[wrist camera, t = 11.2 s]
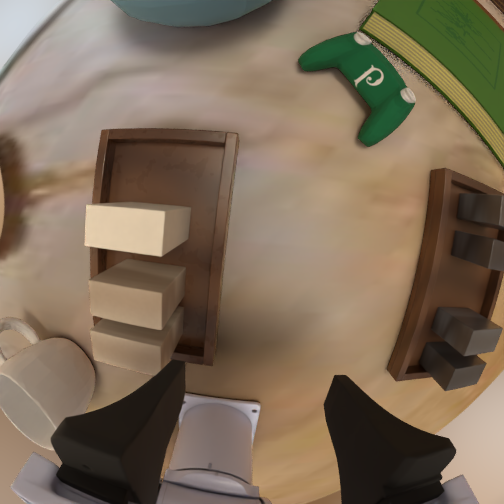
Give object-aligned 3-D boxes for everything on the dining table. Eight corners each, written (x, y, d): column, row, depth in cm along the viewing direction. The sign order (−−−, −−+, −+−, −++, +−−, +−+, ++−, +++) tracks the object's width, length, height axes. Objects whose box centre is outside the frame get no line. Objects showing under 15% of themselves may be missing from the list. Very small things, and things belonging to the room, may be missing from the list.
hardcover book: (528, 88, 17) (544, 84, 13) (513, 183, 20) (535, 183, 16) (400, -36, 15) (411, -50, 11) (351, 25, 18) (364, 4, 14)
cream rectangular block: (188, 239, 20) (161, 256, 14) (128, 232, 20) (84, 246, 14) (191, 207, 20) (165, 210, 14) (130, 201, 20) (86, 204, 13)
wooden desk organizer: (460, 361, 24) (490, 389, 18) (386, 369, 24) (414, 408, 17) (500, 198, 20) (542, 202, 14) (430, 169, 20) (479, 164, 14)
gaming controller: (373, 141, 21) (426, 110, 17) (364, 151, 19) (426, 115, 15) (309, 62, 20) (356, 24, 16) (290, 60, 18) (344, 15, 13)
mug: (120, 377, 24) (77, 442, 14) (83, 404, 25) (46, 457, 15) (40, 282, 22) (-27, 316, 12) (15, 324, 23) (-37, 359, 13)
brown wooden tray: (215, 352, 23) (204, 406, 16) (106, 331, 23) (67, 371, 16) (239, 140, 20) (233, 110, 13) (114, 134, 20) (64, 114, 12)
